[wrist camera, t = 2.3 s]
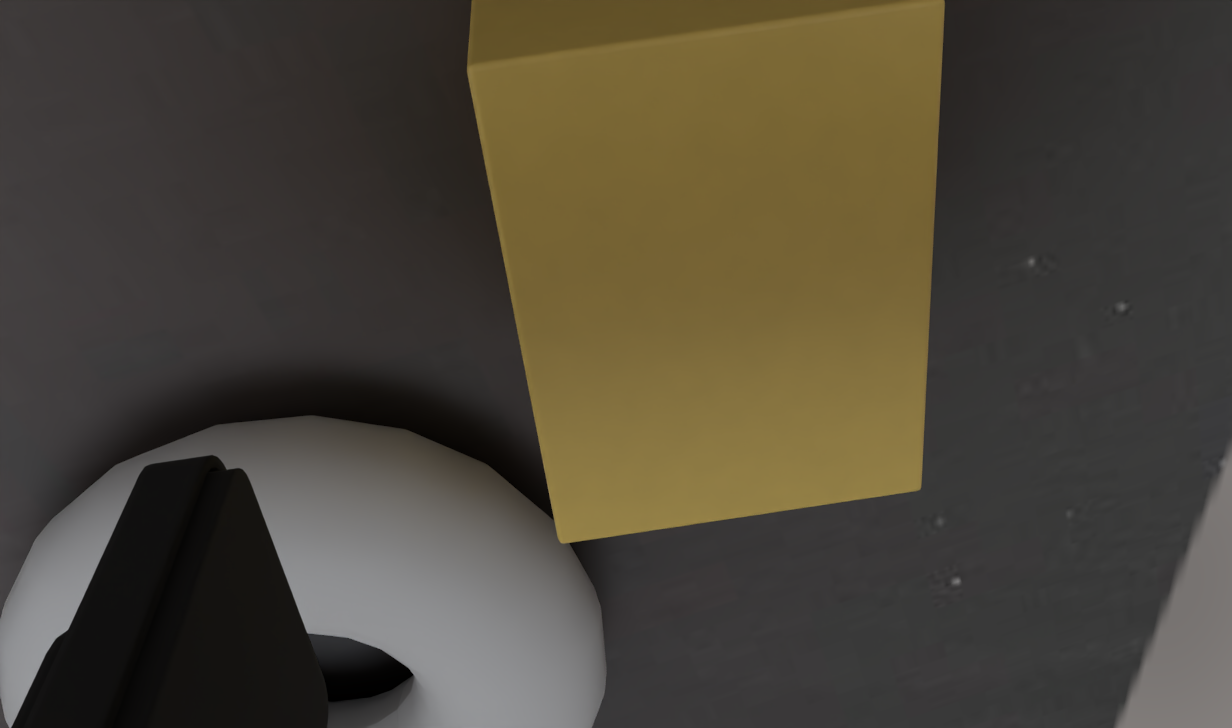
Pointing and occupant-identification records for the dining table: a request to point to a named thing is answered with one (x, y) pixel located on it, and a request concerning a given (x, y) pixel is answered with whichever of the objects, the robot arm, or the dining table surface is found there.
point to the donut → (368, 573)
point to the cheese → (715, 246)
